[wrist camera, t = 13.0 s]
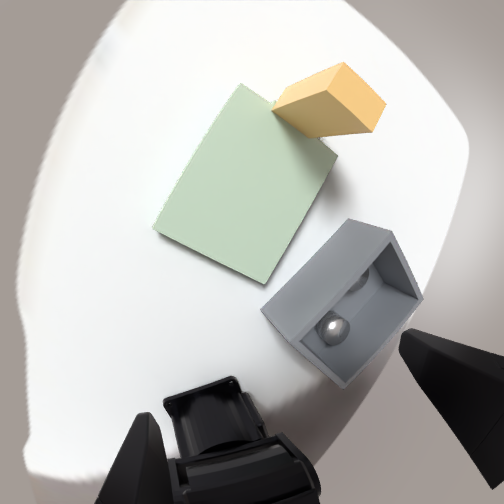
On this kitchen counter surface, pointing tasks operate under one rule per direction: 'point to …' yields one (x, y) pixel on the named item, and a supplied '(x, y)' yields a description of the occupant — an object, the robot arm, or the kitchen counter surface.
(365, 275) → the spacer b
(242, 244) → the lid
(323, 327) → the grey metallic ball
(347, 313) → the tub
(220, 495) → the robot arm
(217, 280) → the kitchen counter surface
